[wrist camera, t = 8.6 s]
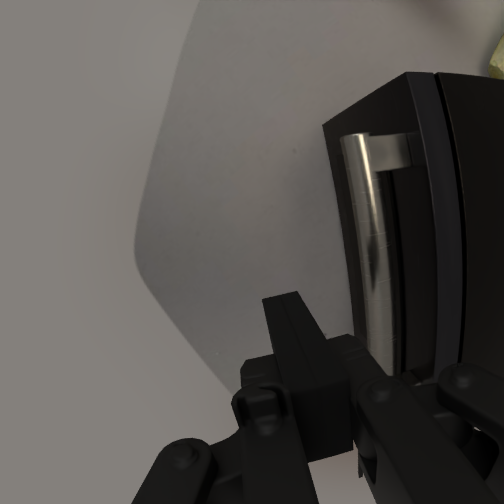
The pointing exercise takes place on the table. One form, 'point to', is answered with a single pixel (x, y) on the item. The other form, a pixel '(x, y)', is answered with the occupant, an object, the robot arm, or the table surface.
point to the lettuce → (497, 61)
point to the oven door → (400, 226)
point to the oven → (479, 210)
